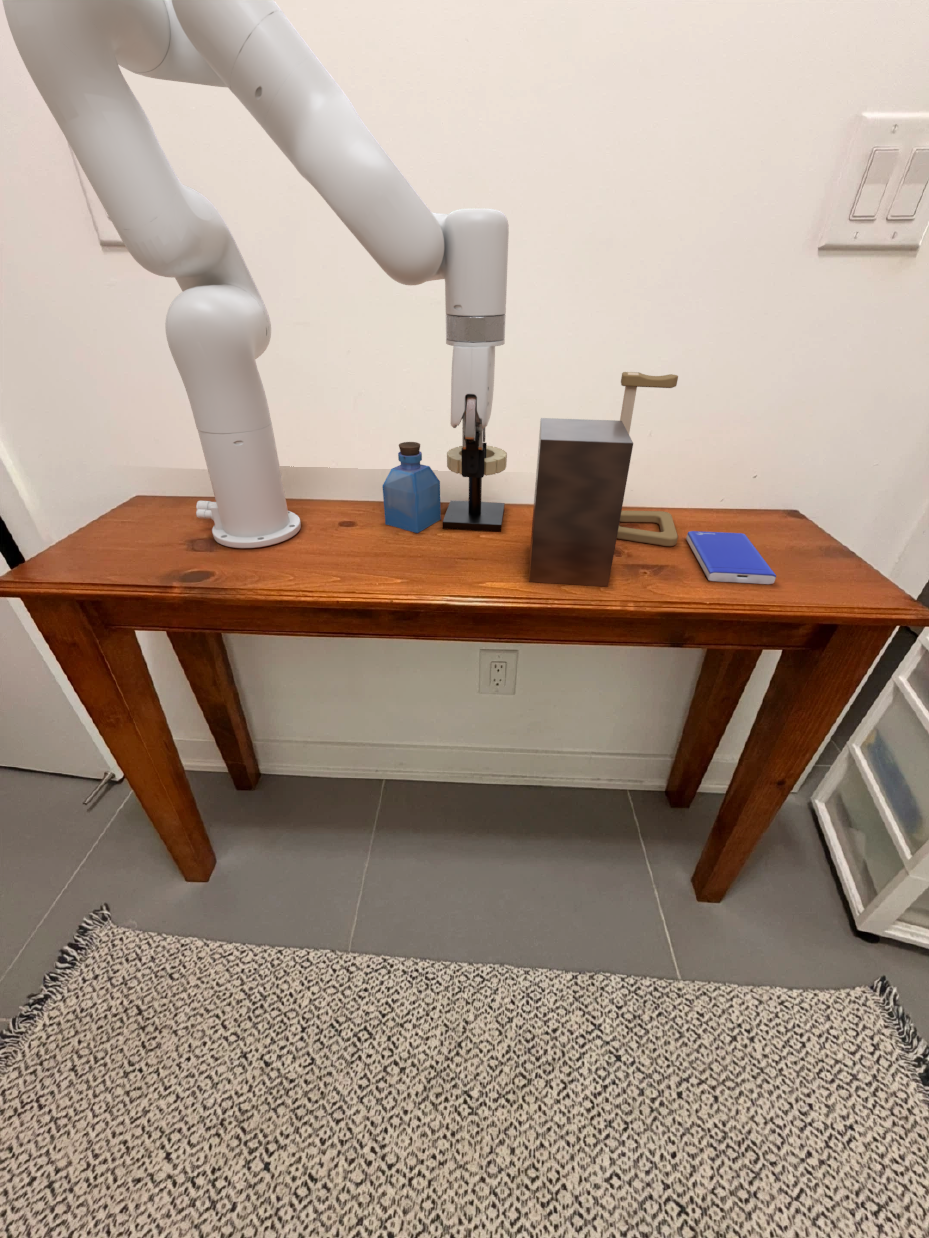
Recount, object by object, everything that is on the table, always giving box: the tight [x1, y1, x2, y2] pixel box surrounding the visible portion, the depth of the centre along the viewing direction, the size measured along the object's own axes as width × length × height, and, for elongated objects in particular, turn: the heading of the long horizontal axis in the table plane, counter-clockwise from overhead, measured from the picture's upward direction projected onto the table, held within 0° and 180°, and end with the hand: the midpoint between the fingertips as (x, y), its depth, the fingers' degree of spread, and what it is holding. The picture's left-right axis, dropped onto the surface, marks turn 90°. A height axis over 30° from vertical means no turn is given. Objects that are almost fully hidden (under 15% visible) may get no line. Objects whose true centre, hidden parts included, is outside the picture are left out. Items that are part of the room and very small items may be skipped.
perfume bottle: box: [381, 441, 442, 534], centre depth 82 cm, size 6×6×12 cm
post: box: [442, 477, 506, 533], centre depth 84 cm, size 9×9×9 cm
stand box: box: [528, 417, 634, 588], centre depth 68 cm, size 10×10×18 cm
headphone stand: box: [617, 371, 679, 547], centre depth 77 cm, size 10×11×22 cm
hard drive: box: [685, 530, 777, 585], centre depth 74 cm, size 2×8×12 cm
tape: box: [446, 445, 508, 476], centre depth 81 cm, size 9×9×2 cm
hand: (474, 472), depth 79 cm, fingers closed on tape, 2 cm apart
